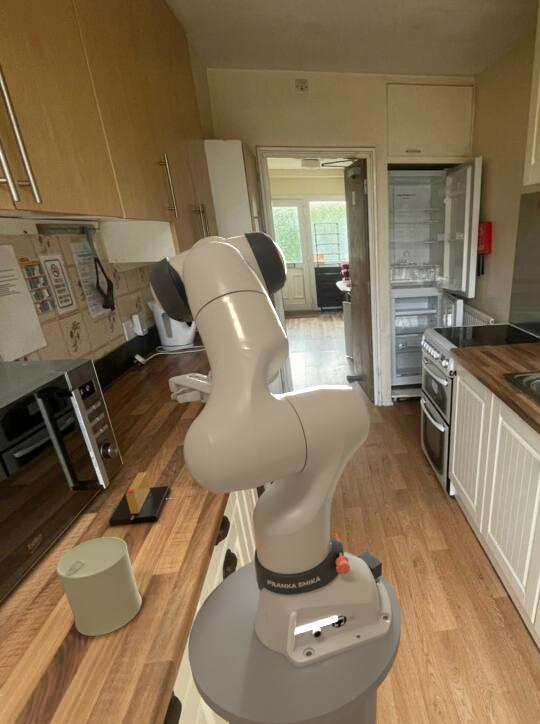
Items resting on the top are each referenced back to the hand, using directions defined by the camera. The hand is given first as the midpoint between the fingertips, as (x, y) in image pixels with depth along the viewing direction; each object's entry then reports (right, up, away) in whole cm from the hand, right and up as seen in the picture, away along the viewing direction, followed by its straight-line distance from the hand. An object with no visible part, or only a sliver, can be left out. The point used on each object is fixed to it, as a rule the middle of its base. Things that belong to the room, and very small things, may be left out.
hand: (175, 399), depth 98 cm
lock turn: (-6, -23, -3) cm, 24 cm away
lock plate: (-6, -25, -3) cm, 25 cm away
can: (+3, -36, -29) cm, 46 cm away
